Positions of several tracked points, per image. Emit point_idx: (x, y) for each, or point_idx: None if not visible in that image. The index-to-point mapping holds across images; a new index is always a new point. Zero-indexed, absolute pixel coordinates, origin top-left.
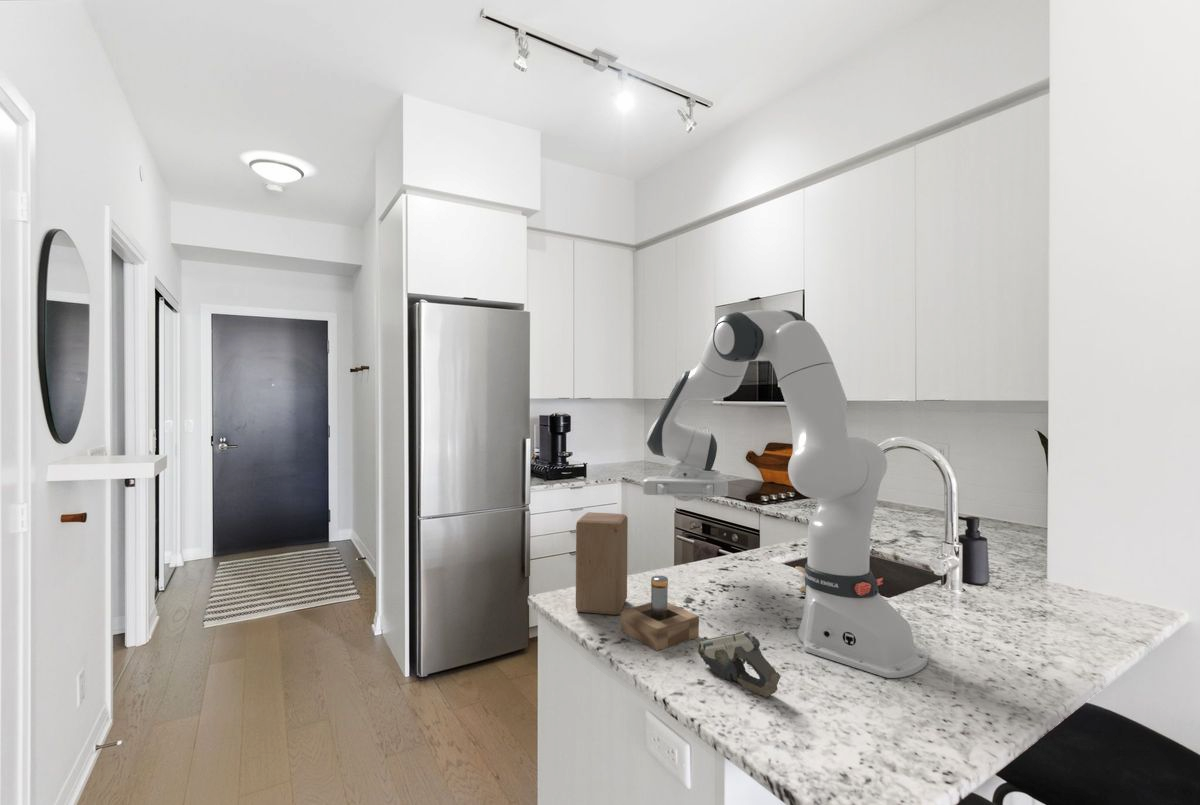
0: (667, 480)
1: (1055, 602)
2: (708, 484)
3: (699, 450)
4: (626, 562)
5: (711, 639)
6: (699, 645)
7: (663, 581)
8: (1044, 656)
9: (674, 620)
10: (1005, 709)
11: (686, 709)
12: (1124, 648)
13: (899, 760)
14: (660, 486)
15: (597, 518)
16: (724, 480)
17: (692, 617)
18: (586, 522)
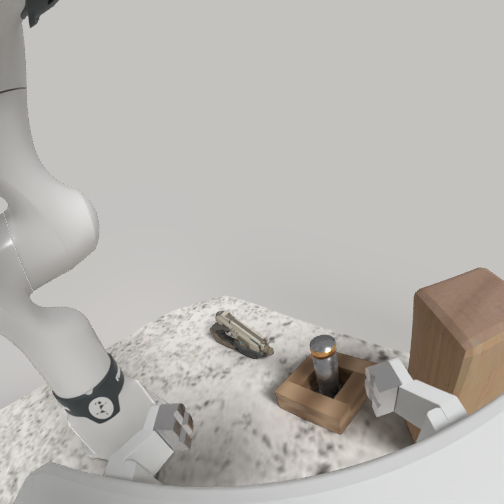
0: (420, 451)
1: None
2: (125, 477)
3: None
4: None
5: (256, 333)
6: (271, 348)
7: (314, 338)
8: (21, 414)
9: (303, 370)
10: None
11: (278, 314)
12: None
13: (173, 320)
14: (419, 383)
15: (473, 286)
16: (38, 471)
17: (282, 385)
18: (469, 271)
